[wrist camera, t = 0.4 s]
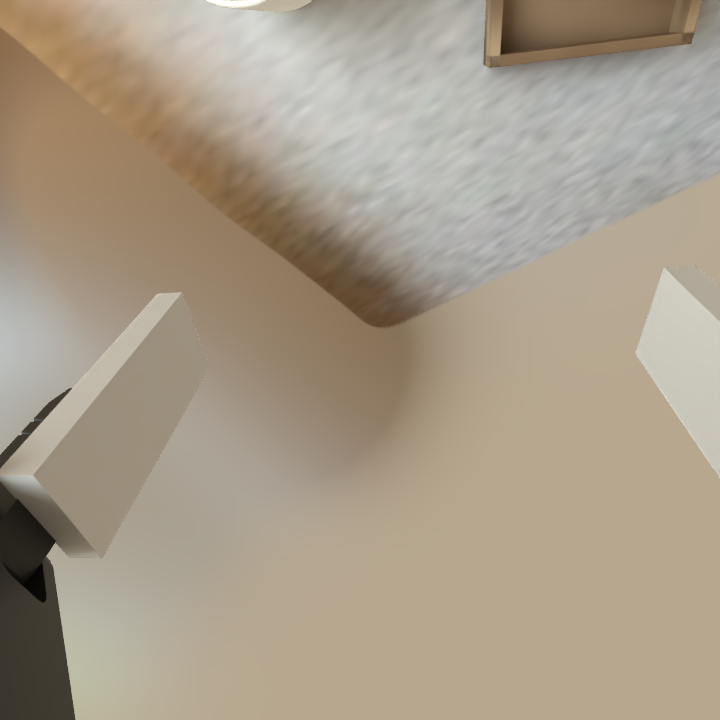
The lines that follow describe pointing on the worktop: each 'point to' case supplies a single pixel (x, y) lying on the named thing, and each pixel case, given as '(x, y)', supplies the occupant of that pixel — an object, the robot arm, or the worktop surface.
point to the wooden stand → (583, 28)
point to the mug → (262, 4)
